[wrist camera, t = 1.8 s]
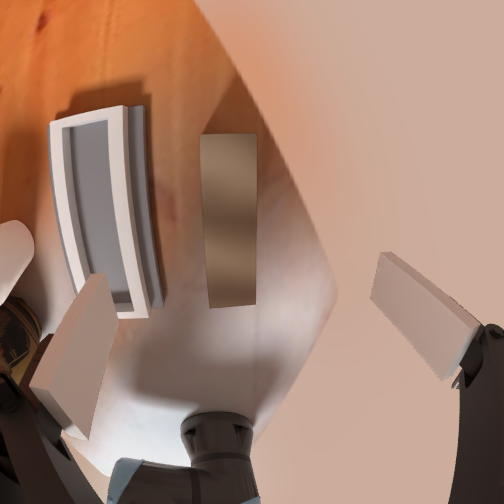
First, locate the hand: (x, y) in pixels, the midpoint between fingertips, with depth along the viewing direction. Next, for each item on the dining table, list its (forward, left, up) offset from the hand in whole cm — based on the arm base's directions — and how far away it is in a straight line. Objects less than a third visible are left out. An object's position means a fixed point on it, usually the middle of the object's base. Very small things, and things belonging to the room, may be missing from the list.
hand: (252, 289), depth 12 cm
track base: (-1, +14, -20) cm, 25 cm away
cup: (-3, +29, -20) cm, 36 cm away
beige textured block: (0, 0, -20) cm, 20 cm away
